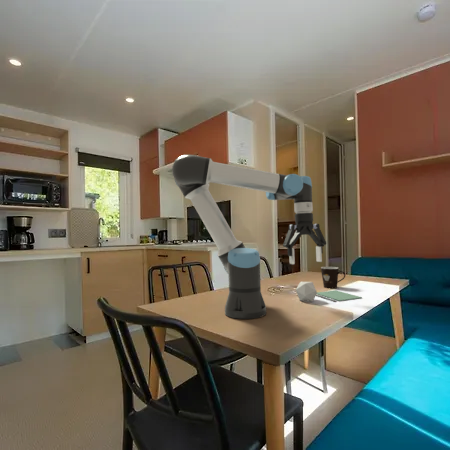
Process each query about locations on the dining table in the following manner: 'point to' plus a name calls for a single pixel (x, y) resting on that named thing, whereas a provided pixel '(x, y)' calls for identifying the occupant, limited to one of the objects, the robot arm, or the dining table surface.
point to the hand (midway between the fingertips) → (305, 262)
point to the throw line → (326, 298)
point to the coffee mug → (330, 277)
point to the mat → (338, 295)
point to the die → (306, 291)
